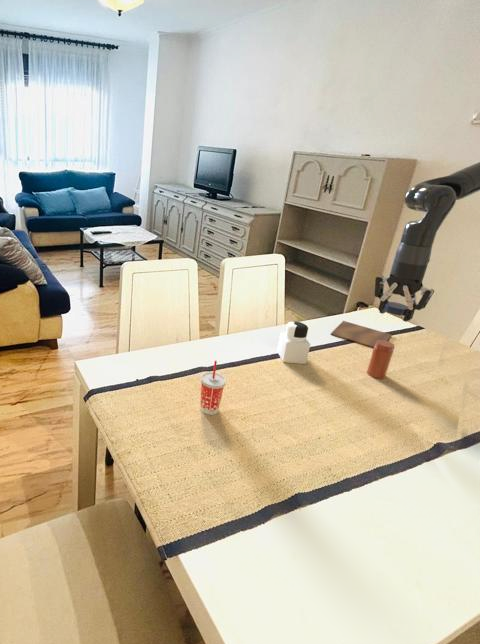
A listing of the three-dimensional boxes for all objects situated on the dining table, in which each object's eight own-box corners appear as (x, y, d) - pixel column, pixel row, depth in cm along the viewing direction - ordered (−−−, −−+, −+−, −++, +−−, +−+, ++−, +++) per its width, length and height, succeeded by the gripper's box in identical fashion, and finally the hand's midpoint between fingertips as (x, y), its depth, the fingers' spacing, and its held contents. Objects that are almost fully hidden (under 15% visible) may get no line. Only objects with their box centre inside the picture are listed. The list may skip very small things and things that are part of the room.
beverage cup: (221, 404, 100) (228, 356, 95) (221, 419, 94) (228, 369, 90) (198, 399, 101) (203, 352, 97) (196, 413, 96) (202, 365, 91)
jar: (385, 373, 117) (394, 342, 113) (385, 380, 113) (395, 349, 109) (366, 368, 119) (375, 338, 116) (366, 375, 115) (375, 344, 112)
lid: (379, 309, 110) (381, 303, 110) (389, 306, 113) (391, 300, 113) (401, 317, 106) (403, 310, 105) (410, 313, 109) (413, 307, 108)
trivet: (390, 335, 142) (390, 334, 141) (381, 350, 131) (381, 349, 130) (342, 322, 152) (343, 320, 152) (330, 334, 141) (330, 333, 140)
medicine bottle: (298, 353, 127) (305, 320, 123) (306, 364, 120) (314, 330, 116) (276, 351, 127) (282, 318, 123) (282, 362, 121) (289, 328, 117)
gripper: (376, 255, 108) (361, 310, 114) (436, 268, 97) (416, 329, 103) (389, 252, 112) (374, 305, 118) (448, 265, 101) (428, 323, 106)
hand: (394, 316), depth 110 cm, fingers closed on lid, 5 cm apart
